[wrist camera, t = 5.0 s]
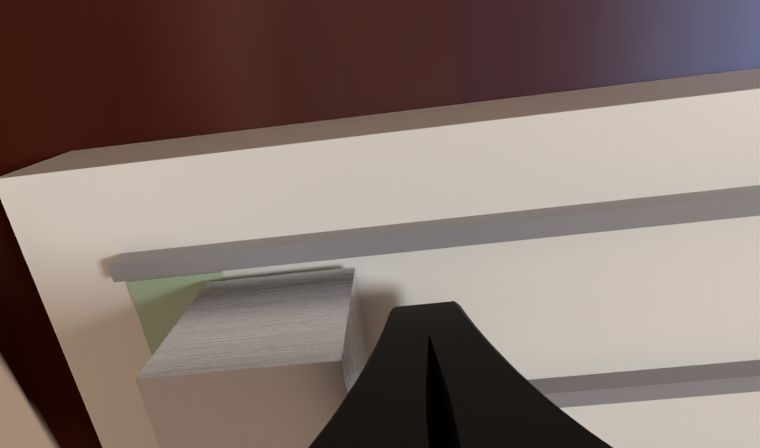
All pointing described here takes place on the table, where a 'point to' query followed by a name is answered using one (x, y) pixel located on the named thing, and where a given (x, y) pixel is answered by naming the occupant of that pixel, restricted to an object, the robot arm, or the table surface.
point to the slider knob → (257, 362)
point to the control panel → (442, 244)
